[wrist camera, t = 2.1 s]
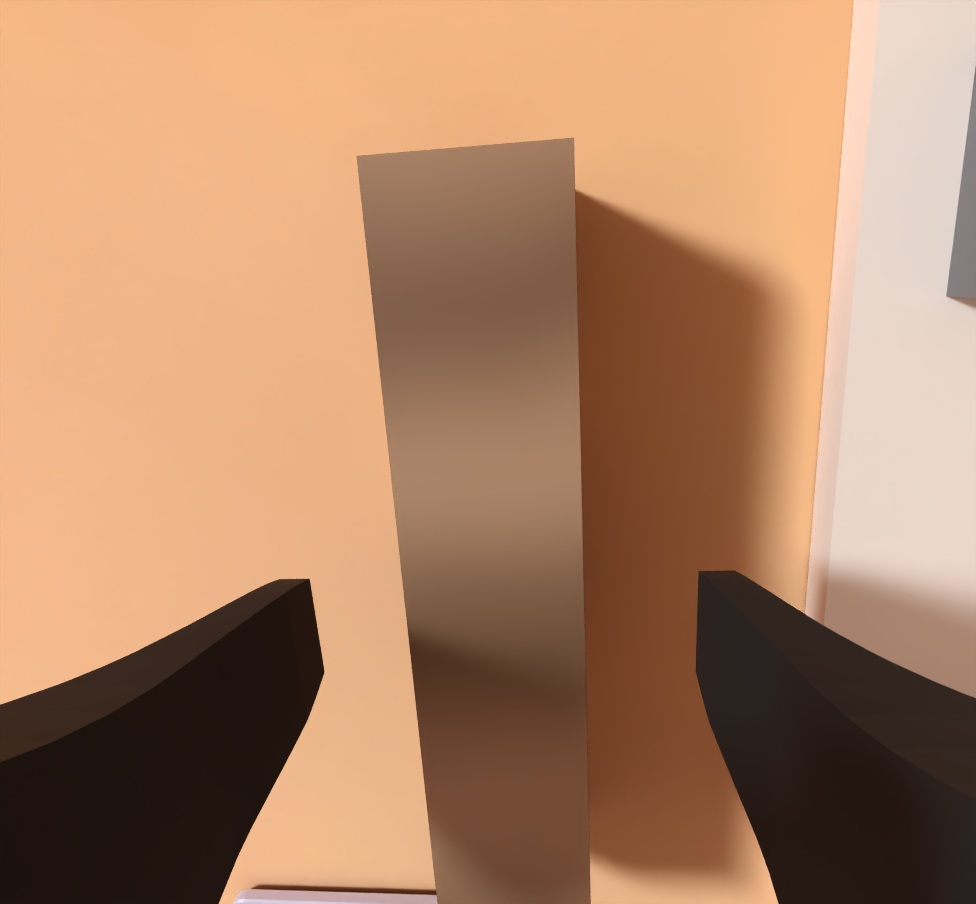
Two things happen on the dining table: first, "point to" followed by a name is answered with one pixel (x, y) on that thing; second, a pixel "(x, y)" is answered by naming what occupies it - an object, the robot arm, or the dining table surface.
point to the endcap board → (903, 349)
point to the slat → (488, 503)
